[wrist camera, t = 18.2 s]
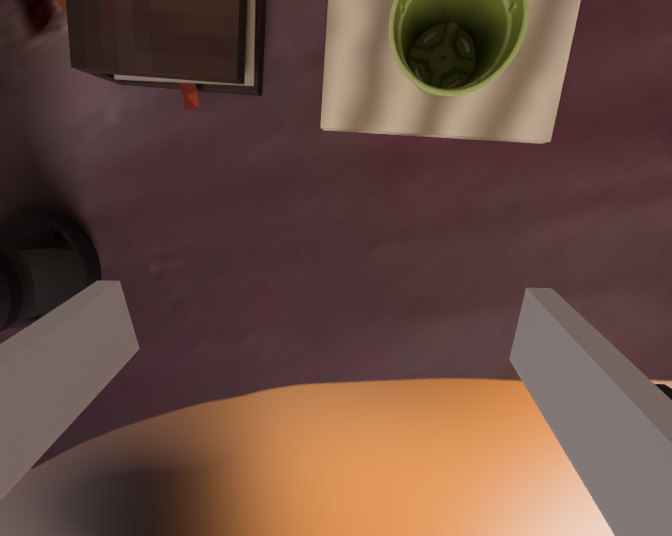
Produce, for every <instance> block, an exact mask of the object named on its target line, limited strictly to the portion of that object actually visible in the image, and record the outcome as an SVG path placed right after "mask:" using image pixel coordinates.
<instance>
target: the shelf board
mask: <svg viewBox="0 0 672 536" xmlns="http://www.w3.org/2000/svg"><path fill="white" fill-rule="evenodd" d="M393 1H394V0H328V11H327V28H326V44H325V61H324V78H323V94H322V111H321V127H320V128H322V129H323V130H328V131H344V132H361V133H377V134H393V135H410V136H426V137H442V138H459V139H475V140H491V141H507V142H524V143H540V144H542V143H546V142H550V141H551V137H552V132H553V128H554V123H555V118H556V114H557V109H558V104H559V100H560V95H561V90H562V86H563V81H564V76H565V72H566V67H567V62H568V58H569V53H570V48H571V44H572V39H573V35H574V30H575V25H576V21H577V16H578V11H579V7H580V2H581V0H529V21H528V26H527V30H526V33H525V36H524V39H523V42H522V44H521V46H520V49H519V50H518V52H517V54H516V55H515V57H514V59H513V60H512V61H511V63H510V64H509V65H508V67H507V68H506V69H505V70H504V71H503V72H502V73H501V74H500V75H499V76H498V77H497V78H495V79H494V80H493V81H492V82H490V83H489V84H487V85H486V86H484V87H482V88H480V89H478V90H476V91H474V92H471V93H468V94H464V95H459V96H432V95H429V94H426V93H424V92H422V91H421V90H420V89H418V88H417V86H416V85H415V84H413V83H412V82H411V81H410V80H409V79H408V78H407V77H406V76H405V75H404V74H403V72H402V71H401V70H400V68H399V67H398V65H397V63H396V61H395V59H394V56H393V53H392V50H391V46H390V41H389V17H390V12H391V8H392V4H393ZM436 35H437V32H433V33H431V34H430V35H429V36H428V37H426V38H425V39H424V43H426V42H427V41H428V40H429V39H431V38H432V37H434V36H436ZM461 40H462V42H463V44H464V46H465V49H466V52H469V51H470V47H469V44H468V43H467V41H466V40H465V39H463V38H461ZM444 61H445V57H441V58H440V62H444ZM415 73H416V75H417V77H418V79H420V80H421V81H422V82H424V79H423V78H422V77H421V75H420V72H419V70H418V68H416V70H415ZM460 79H461V78H459V79H457V80H456V81H455V82H453V83H451V84H450V85H448V86H447V87H448V88H452V87H454V86H455V85H456V84H458V83H459V82H460Z"/></svg>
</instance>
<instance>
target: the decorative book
mask: <svg viewBox="0 0 672 536" xmlns="http://www.w3.org/2000/svg"><path fill="white" fill-rule="evenodd" d="M66 5H67V19H68V32H69V45H70V58H71V67H72V68H75V69H78V70H80V71H83V72H86V73H89V74H92V75H94V76H97V77H100V78H103V79H106V80H109V81H111V82H114V83H117V84H120V85H132V86H145V87H157V88H170V89H181V90H182V93H183V104H184V109H199V104H198V91H207V92H219V93H232V94H244V95H257V96H262V81H263V59H264V37H265V15H266V0H66Z"/></svg>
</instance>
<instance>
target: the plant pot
mask: <svg viewBox="0 0 672 536" xmlns="http://www.w3.org/2000/svg"><path fill="white" fill-rule="evenodd" d="M528 21H529V0H394V1H393V4H392V8H391V12H390V17H389V41H390V46H391V50H392V53H393V56H394V59H395V61H396V63H397V65H398V67H399V68H400V70H401V71H402V72H403V74H404V75H405V76H406V77H407V78H408V79H409V80H410V81H411V82H412V83H413V84H415V85H416V86H417V88H418V89H420V90H421V91H422V92H424V93H426V94H429V95H432V96H459V95H464V94H468V93H471V92H474V91H476V90H478V89H480V88H482V87H484V86H486V85H487V84H489V83H490V82H492V81H493V80H494V79H495V78H497V77H498V76H499V75H500V74H501V73H502V72H503V71H504V70H505V69H506V68H507V67H508V65H509V64H510V63H511V61H512V60H513V59H514V57H515V55H516V54H517V52H518V50H519V49H520V46H521V44H522V42H523V39H524V36H525V33H526V30H527V26H528ZM433 32H437V35H436V36H434V37H432V38H431V39H429V40H428V41H427V42H426V43H424V39H425V38H426V37H428V36H429V35H430V34H431V33H433ZM461 38H463V39H465V40H466V41H467V43H468V44H469V47H470V51H469V52H466V49H465V46H464V44H463V42H462V40H461ZM441 57H445V61H444V62H440V58H441ZM416 68H418V70H419V72H420V75H421V77H422V78H423V79H424V82H422V81H421V80H420V79H418V77H417V75H416V73H415V70H416ZM459 78H461V79H460V82H459V83H458V84H456V85H455V86H454V87H452V88H448V87H447V86H448V85H450V84H451V83H453V82H455V81H456V80H457V79H459Z"/></svg>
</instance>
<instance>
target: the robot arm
mask: <svg viewBox="0 0 672 536" xmlns="http://www.w3.org/2000/svg"><path fill="white" fill-rule="evenodd" d="M17 327H26V328H25V329H23V330H22V331H20V332H19V333H17V334H16V335H14V336H13V337H11V338H9V339H8V340H6V341H5V342H3V343H2V344H0V501H1V499H2V498H3V497H4V496H5V495H6V494H7V493H8V492H9V491H10V490H11V489H12V488H13V487H14V485H15V484H16V483H17V482H18V481H19V480H20V479H21V478H22V477H23V475H25V473H26V472H27V471H28V470H29V469H30V468H31V467H32V466H33V465H34V464H35V463H36V461H37V460H38V459H39V458H40V457H41V456H42V455H43V454H44V453H45V452H46V450H47V449H48V448H49V447H50V446H51V445H52V444H53V443H54V442H55V441H56V440H57V438H58V437H59V436H60V435H61V434H62V433H63V432H64V431H65V430H66V429H67V428H68V426H69V425H70V424H71V423H72V422H73V421H74V420H75V419H76V418H77V417H78V415H79V414H80V413H81V412H82V411H83V410H84V409H85V408H86V407H87V406H88V405H89V403H90V402H91V401H92V400H93V399H94V398H95V397H96V396H97V395H98V394H99V393H100V391H101V390H102V389H103V388H104V387H105V386H106V385H107V384H108V383H109V382H110V381H111V379H112V378H113V377H114V376H115V375H116V374H117V373H118V372H119V371H120V370H121V368H122V367H123V366H124V365H125V364H126V363H127V362H128V361H129V360H130V359H131V358H132V356H133V355H134V354H135V353H136V352H137V351H138V350H139V346H138V342H137V339H136V336H135V332H134V329H133V325H132V322H131V318H130V315H129V311H128V308H127V305H126V301H125V298H124V294H123V291H122V287H121V284H120V281H100V270H99V264H98V260H97V257H96V254H95V252H94V249H93V247H92V245H91V243H90V242H89V240H88V239H87V237H86V236H85V234H84V233H83V232H82V231H81V230H80V229H79V228H78V227H77V226H76V225H75V224H74V223H73V222H72V221H70V220H69V219H68V218H66V217H65V216H63V215H61V214H59V213H57V212H54V211H51V210H48V209H42V208H30V209H18V210H13V211H9V212H5V213H3V214H1V215H0V331H3V330H6V329H8V328H17ZM509 360H510V361H511V363H512V365H513V366H514V368H515V370H516V371H517V373H518V375H519V376H520V378H521V380H522V381H523V383H524V385H525V386H526V388H527V390H528V391H529V393H530V395H531V396H532V398H533V400H534V401H535V403H536V405H537V406H538V408H539V410H540V411H541V413H542V415H543V416H544V418H545V420H546V421H547V423H548V425H549V426H550V428H551V430H552V431H553V433H554V434H555V436H556V438H557V440H558V441H559V443H560V445H561V446H562V448H563V450H564V451H565V453H566V455H567V456H568V458H569V460H570V461H571V463H572V465H573V466H574V468H575V470H576V471H577V473H578V475H579V476H580V478H581V480H582V481H583V483H584V485H585V486H586V488H587V490H588V491H589V493H590V495H591V496H592V498H593V500H594V501H595V503H596V505H597V506H598V508H599V510H600V511H601V513H602V515H603V516H604V518H605V520H606V521H607V523H608V525H609V526H610V528H611V529H612V531H613V533H614V535H615V536H672V389H671V388H669V387H668V386H666V385H664V384H654V383H653V382H652V381H650V380H649V379H648V378H647V377H646V376H645V375H644V374H643V373H642V372H641V371H640V370H639V369H638V368H637V367H635V366H634V365H633V364H632V363H631V362H630V361H629V360H628V359H627V358H626V357H625V356H624V355H623V354H621V353H620V352H619V351H618V350H617V349H616V348H615V347H614V346H613V345H612V344H611V343H610V342H609V341H608V340H606V339H605V338H604V337H603V336H602V335H601V334H600V333H599V332H598V331H597V330H596V329H595V328H594V327H593V326H591V325H590V324H589V323H588V322H587V321H586V320H585V319H584V318H583V317H582V316H581V315H580V314H579V313H578V312H576V311H575V310H574V309H573V308H572V307H571V306H570V305H569V304H568V303H567V302H566V301H565V300H564V299H563V298H561V297H560V296H559V295H558V294H557V293H556V292H555V291H554V290H553V289H552V288H526V291H525V295H524V299H523V304H522V308H521V312H520V316H519V321H518V325H517V329H516V333H515V338H514V342H513V346H512V351H511V355H510V359H509Z"/></svg>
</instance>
